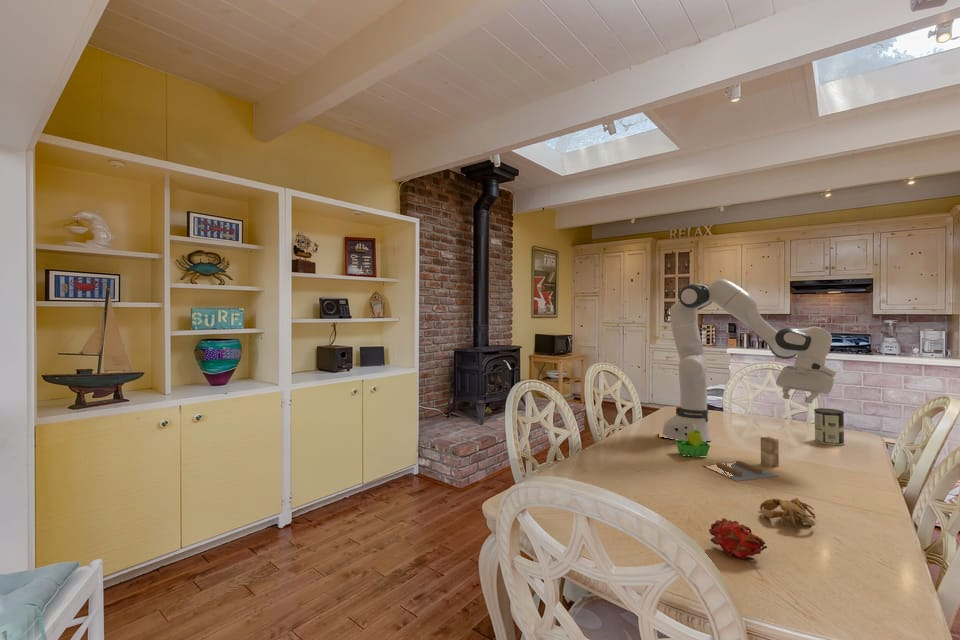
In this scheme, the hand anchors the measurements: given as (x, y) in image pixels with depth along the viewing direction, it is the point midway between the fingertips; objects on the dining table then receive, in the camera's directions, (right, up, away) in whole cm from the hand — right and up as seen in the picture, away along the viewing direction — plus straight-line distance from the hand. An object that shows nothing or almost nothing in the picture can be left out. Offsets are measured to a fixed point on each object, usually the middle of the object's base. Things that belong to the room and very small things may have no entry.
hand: (796, 400), depth 165 cm
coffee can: (+33, -23, +25) cm, 48 cm away
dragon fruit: (-61, -25, -63) cm, 91 cm away
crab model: (-37, -25, -46) cm, 64 cm away
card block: (-12, -24, -2) cm, 27 cm away
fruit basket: (-35, -25, +9) cm, 44 cm away
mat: (-27, -24, -8) cm, 37 cm away
